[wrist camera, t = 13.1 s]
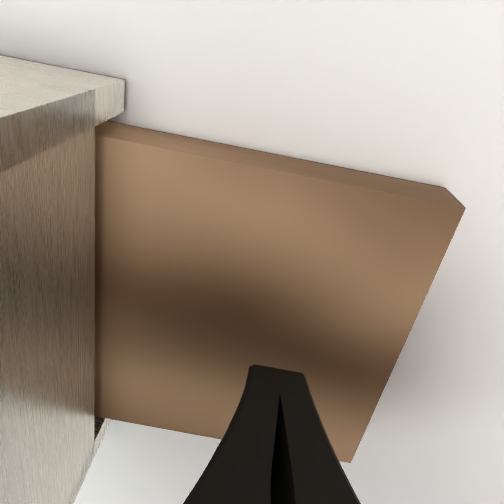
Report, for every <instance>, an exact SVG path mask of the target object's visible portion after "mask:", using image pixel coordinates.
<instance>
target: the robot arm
mask: <svg viewBox="0 0 504 504" xmlns="http://www.w3.org/2000/svg"><path fill="white" fill-rule="evenodd" d="M183 504H360V502H359V500H358V498H357V496H356V494H355V492H354V490H353V488H352V487H351V485H350V483H349V481H348V479H347V477H346V475H345V473H344V471H343V469H342V467H341V465H340V462H339V460H338V458H337V456H336V454H335V452H334V449H333V447H332V445H331V443H330V440H329V438H328V436H327V434H326V431H325V429H324V427H323V424H322V422H321V419H320V417H319V414H318V412H317V409H316V406H315V404H314V401H313V398H312V395H311V393H310V390H309V387H308V383H307V380H306V377H305V376H304V374H303V373H300V372H295V371H289V370H284V369H278V368H273V367H267V366H261V365H256V364H254V365H252V366H250V367H249V370H248V374H247V379H246V384H245V388H244V391H243V394H242V397H241V399H240V402H239V404H238V407H237V409H236V411H235V413H234V416H233V418H232V420H231V422H230V424H229V426H228V428H227V431H226V433H225V435H224V436H223V438H222V440H221V442H220V444H219V446H218V447H217V449H216V451H215V453H214V455H213V456H212V458H211V460H210V462H209V464H208V465H207V467H206V469H205V470H204V472H203V474H202V475H201V477H200V479H199V480H198V482H197V483H196V485H195V486H194V488H193V490H192V491H191V493H190V494H189V496H188V497H187V499H186V500H185V502H184V503H183Z"/></svg>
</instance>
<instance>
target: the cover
mask: <svg viewBox="0 0 504 504" xmlns="http://www.w3.org/2000/svg"><path fill="white" fill-rule="evenodd" d="M124 88H125V80H122V79H117V78H112V77H107V76H102V75H97V74H92V73H87V72H82V71H77V70H72V69H67V68H62V67H57V66H52V65H47V64H42V63H37V62H32V61H27V60H22V59H17V58H12V57H7V56H2V55H0V504H73V503H74V501H75V499H76V496H77V494H78V492H79V490H80V488H81V485H82V483H83V481H84V479H85V476H86V474H87V472H88V470H89V468H90V465H91V463H92V461H93V459H94V456H95V454H96V452H97V450H98V448H99V445H100V443H101V441H102V439H103V436H104V434H105V432H106V430H107V428H108V425H109V423H110V421H111V419H108V418H103V417H97V416H94V379H95V126H97V125H99V124H101V123H103V122H105V121H107V120H109V119H111V118H113V117H115V116H117V115H119V114H121V113H123V112H124Z"/></svg>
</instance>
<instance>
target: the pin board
mask: <svg viewBox="0 0 504 504" xmlns="http://www.w3.org/2000/svg"><path fill="white" fill-rule="evenodd" d="M464 210H465V207H464V206H463V205H462V204H461V203H460V202H459V201H458V200H457V199H456V198H455V197H454V196H453V195H452V194H451V193H450V192H449V191H448V190H447V189H446V188H444V187H438V186H433V185H428V184H423V183H418V182H413V181H408V180H403V179H398V178H393V177H388V176H383V175H378V174H373V173H368V172H362V171H357V170H352V169H347V168H342V167H337V166H332V165H327V164H322V163H317V162H312V161H307V160H302V159H297V158H291V157H286V156H281V155H276V154H271V153H266V152H261V151H256V150H251V149H246V148H241V147H236V146H231V145H226V144H221V143H215V142H210V141H205V140H200V139H195V138H190V137H185V136H180V135H175V134H170V133H165V132H160V131H155V130H150V129H144V128H139V127H134V126H129V125H124V124H119V123H114V122H109V121H105V122H103V123H101V124H99V125H97V126H95V379H94V416H97V417H103V418H108V419H113V420H119V421H124V422H130V423H135V424H141V425H146V426H152V427H157V428H163V429H168V430H174V431H179V432H184V433H190V434H195V435H201V436H206V437H212V438H217V439H222V438H223V436H224V435H225V433H226V431H227V428H228V426H229V424H230V422H231V420H232V418H233V416H234V413H235V411H236V409H237V407H238V404H239V402H240V399H241V397H242V394H243V391H244V388H245V384H246V379H247V374H248V370H249V367H250V366H252V365H254V364H256V365H261V366H267V367H273V368H278V369H284V370H289V371H295V372H300V373H303V374H304V376H305V377H306V380H307V383H308V387H309V390H310V393H311V395H312V398H313V401H314V404H315V406H316V409H317V412H318V414H319V417H320V419H321V422H322V424H323V427H324V429H325V431H326V434H327V436H328V438H329V440H330V443H331V445H332V447H333V449H334V452H335V454H336V456H337V458H338V460H339V461H343V462H348V463H351V461H352V458H353V456H354V454H355V452H356V449H357V447H358V445H359V443H360V441H361V438H362V436H363V434H364V432H365V430H366V427H367V425H368V423H369V421H370V419H371V416H372V414H373V412H374V410H375V407H376V405H377V403H378V401H379V399H380V396H381V394H382V392H383V390H384V388H385V385H386V383H387V381H388V379H389V376H390V374H391V372H392V370H393V368H394V365H395V363H396V361H397V359H398V357H399V354H400V352H401V350H402V348H403V345H404V343H405V341H406V339H407V337H408V334H409V332H410V330H411V328H412V326H413V323H414V321H415V319H416V317H417V314H418V312H419V310H420V308H421V306H422V303H423V301H424V299H425V297H426V295H427V292H428V290H429V288H430V286H431V284H432V281H433V279H434V277H435V275H436V272H437V270H438V268H439V266H440V264H441V261H442V259H443V257H444V255H445V253H446V250H447V248H448V246H449V244H450V241H451V239H452V237H453V235H454V233H455V230H456V228H457V226H458V224H459V222H460V219H461V217H462V215H463V213H464Z"/></svg>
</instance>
